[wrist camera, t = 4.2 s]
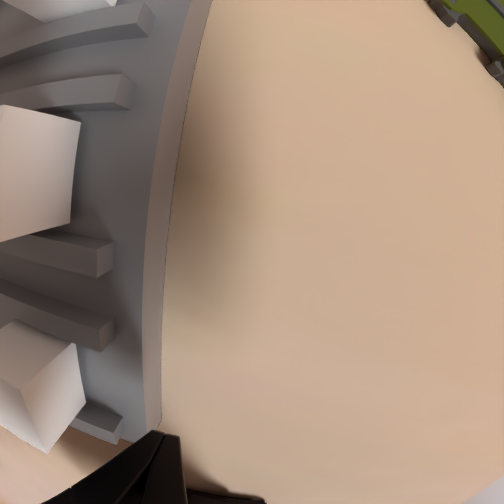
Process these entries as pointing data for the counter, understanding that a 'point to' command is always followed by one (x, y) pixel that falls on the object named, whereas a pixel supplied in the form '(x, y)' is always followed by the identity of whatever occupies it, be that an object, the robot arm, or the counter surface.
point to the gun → (478, 26)
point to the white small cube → (35, 170)
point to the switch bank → (104, 193)
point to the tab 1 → (58, 7)
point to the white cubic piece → (38, 384)
